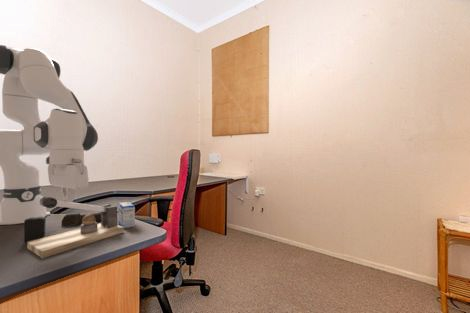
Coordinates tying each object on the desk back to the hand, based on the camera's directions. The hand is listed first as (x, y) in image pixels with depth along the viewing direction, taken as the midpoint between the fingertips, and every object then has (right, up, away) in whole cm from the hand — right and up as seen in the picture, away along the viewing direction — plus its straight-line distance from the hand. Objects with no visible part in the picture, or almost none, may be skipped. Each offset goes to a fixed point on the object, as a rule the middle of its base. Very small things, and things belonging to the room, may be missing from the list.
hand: (68, 201), depth 73 cm
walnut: (+3, -10, +6) cm, 12 cm away
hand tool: (-7, -14, +22) cm, 27 cm away
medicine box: (+10, -14, +19) cm, 25 cm away
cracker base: (+1, -14, +3) cm, 14 cm away
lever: (+1, -4, +3) cm, 5 cm away
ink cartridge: (-12, -14, +2) cm, 19 cm away
